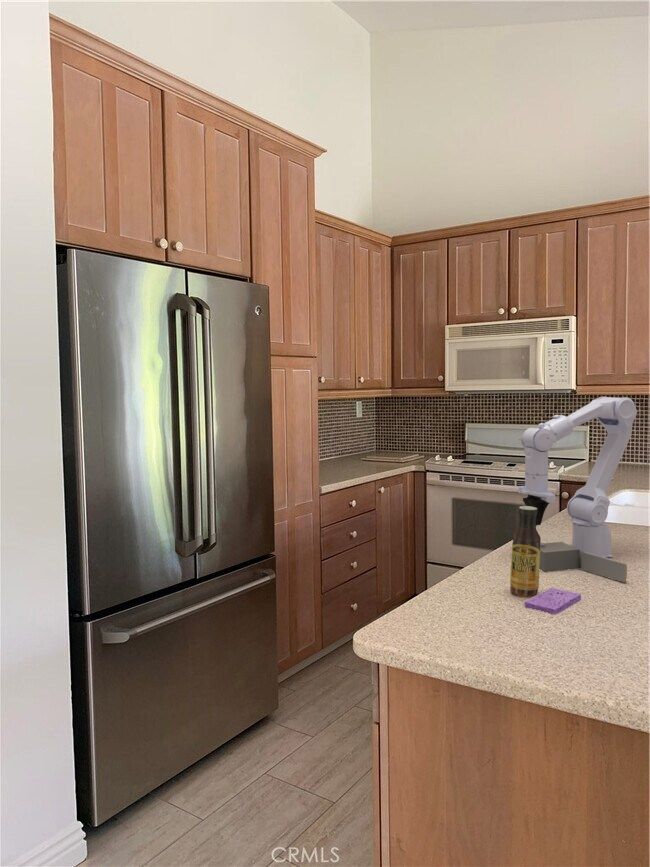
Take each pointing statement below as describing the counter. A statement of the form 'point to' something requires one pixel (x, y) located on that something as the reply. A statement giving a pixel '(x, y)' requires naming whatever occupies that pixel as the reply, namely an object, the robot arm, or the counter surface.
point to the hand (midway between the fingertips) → (535, 524)
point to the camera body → (558, 557)
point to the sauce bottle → (525, 554)
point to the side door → (603, 566)
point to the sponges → (553, 600)
